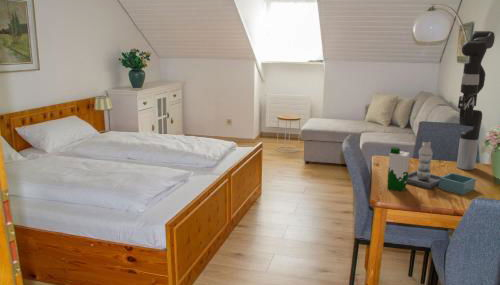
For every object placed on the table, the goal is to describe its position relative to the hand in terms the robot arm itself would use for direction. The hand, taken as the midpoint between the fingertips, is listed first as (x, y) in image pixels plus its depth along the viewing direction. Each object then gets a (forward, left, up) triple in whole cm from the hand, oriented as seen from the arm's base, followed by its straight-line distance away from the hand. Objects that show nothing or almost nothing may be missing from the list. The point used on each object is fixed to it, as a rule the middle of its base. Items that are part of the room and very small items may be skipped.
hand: (465, 116), depth 213 cm
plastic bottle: (+15, -11, -33) cm, 38 cm away
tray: (+15, -11, -34) cm, 39 cm away
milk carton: (+34, -14, -34) cm, 50 cm away
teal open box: (+12, +5, -34) cm, 36 cm away
